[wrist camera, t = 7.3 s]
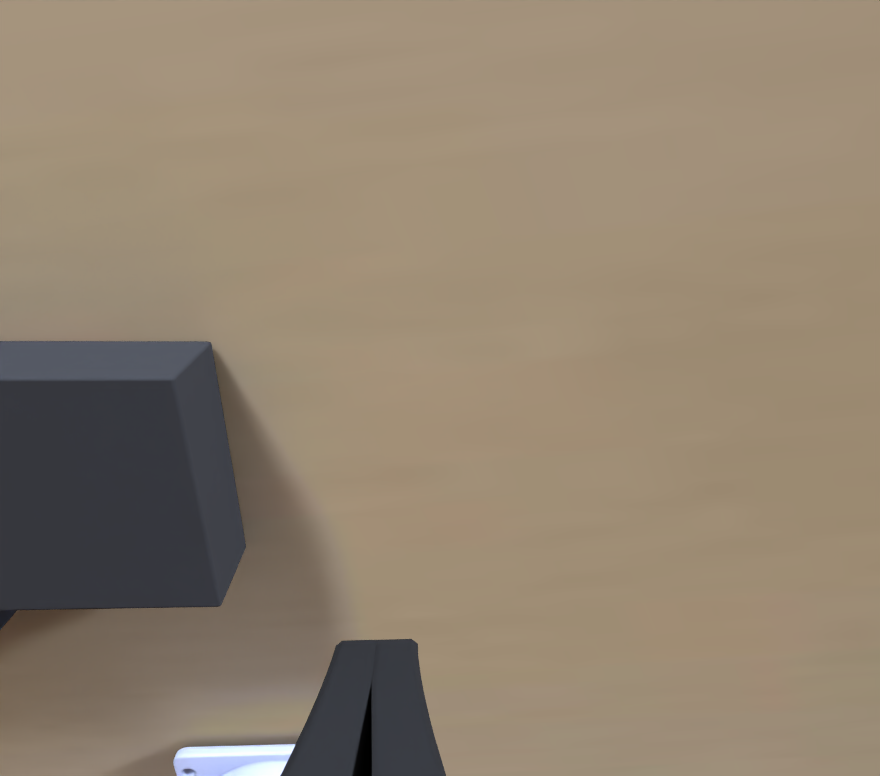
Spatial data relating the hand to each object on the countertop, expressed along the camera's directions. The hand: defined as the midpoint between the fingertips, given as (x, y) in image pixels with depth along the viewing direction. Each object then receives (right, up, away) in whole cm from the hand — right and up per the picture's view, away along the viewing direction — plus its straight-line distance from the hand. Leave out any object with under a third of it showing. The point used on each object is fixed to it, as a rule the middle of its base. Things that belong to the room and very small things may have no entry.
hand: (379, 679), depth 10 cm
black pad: (-9, +3, +6) cm, 11 cm away
